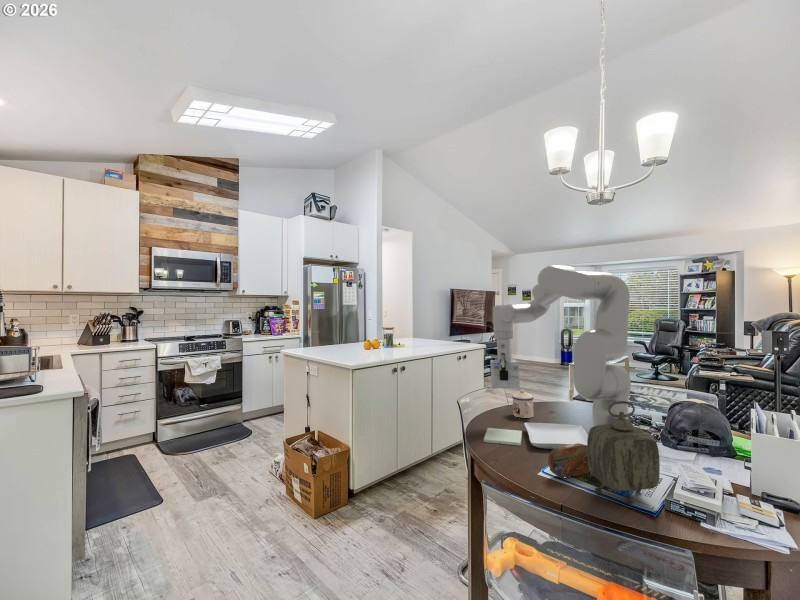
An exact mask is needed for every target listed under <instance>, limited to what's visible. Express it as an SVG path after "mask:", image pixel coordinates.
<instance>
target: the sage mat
mask: <svg viewBox="0 0 800 600" xmlns="http://www.w3.org/2000/svg"><path fill="white" fill-rule="evenodd" d="M522 436H523V431H522V430H514V429H505V428H496V427H495V428H494V427H487V429H486V432H485V433H484V437H483V443H490V444H499V443H500V444H501V445H509V446H510V445H511V446H512V445H513V446H521V445H522V438H523V437H522ZM500 444H499V445H500Z"/></svg>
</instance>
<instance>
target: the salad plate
mask: <svg viewBox="0 0 800 600" xmlns="http://www.w3.org/2000/svg"><path fill="white" fill-rule="evenodd" d="M523 425H524V427H525V429H526V431H527V434H528V438H529V443H530V444H531V445H532V446H533V447H534V448H539V449H549V450H551V449H552V450H553V449H554V448H557V447H561V446H567V445H572V444H578V443H579V444H583V445H587V439H588V432H586V430H585V429H584V428H583V426H581V425H579V424H578V425H577V424H567V423H566V424H564V423H551V422H550V423H547V422H524V424H523Z"/></svg>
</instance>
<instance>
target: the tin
mask: <svg viewBox="0 0 800 600" xmlns="http://www.w3.org/2000/svg"><path fill="white" fill-rule="evenodd" d="M547 463H548V468H549V470H550V472H551V473H552V474H554V475H555V476H557V477H558V478H560V479H565V478H564V477H569V476H570V478H572V477H571V476H574V477H578V476H583V475H587V474H589V473H591V472H590V469H589V465H588V458H587V445H583V444H579V443H578V444H572V445H567V446H561V447H557V448H554V449H552V450H551V451H550V453H549V455H548V462H547Z"/></svg>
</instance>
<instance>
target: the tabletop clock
mask: <svg viewBox="0 0 800 600" xmlns="http://www.w3.org/2000/svg"><path fill="white" fill-rule="evenodd" d="M616 404H628V406H630V407H631V408H632V411H631V412H630V413H629V412H628V414H626V415H624V413H623V412H620V413H619V415H615V414H612V413H611V412H610V409H611V407H612V406H614V405H616ZM635 411H636V409H635V405H634V404H632V403H631V402H630V401H629V402H627V401H617V402H614V403H612V404H611V405H610V406H609V408H608V412H609V414H610V415H612V416H614V417H618V418H616V419H614V420H613V421H612V424H604V425H597V426H594V427H593V426H592V427H590V428H589V430H588V432H587V434H588V439H587V458H588V465H589V469H590V472H589V473H590V474H591V475H592V476H593V477H594V478H595V479H597V480H598V481H599V482H600V483H601V484H600V487H595V489H594V491H595V493H596V494H598V495H600V494H602V493H603V488H604V487H606V488H607V489H610V490H614V491H626V494H627V496H626V498H625V500H626V502H627V503H629V504H633V503H634V501H635V500H634V498H633V497H632V496H631V491H635V492H637V493H641V492H642V490H643V491H644V490H651V489H654V488H656V487H658V484H659V482H660V468H661V467H660V464H661V463H660V462H661V461H660V453H659V452H660V451H659V450H660V449H659V447H658V443H657V441H656V438H655V437H654V435H652V434H650V433H648V432H645V431H644V430H643V429H639V428H638V427H635V426H634V425H633V424H632V422H631V421H630V420H629V419H628V420H627V419H624V418H625V417H628V418H629V417H631V416H632V415H633V414H635Z"/></svg>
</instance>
